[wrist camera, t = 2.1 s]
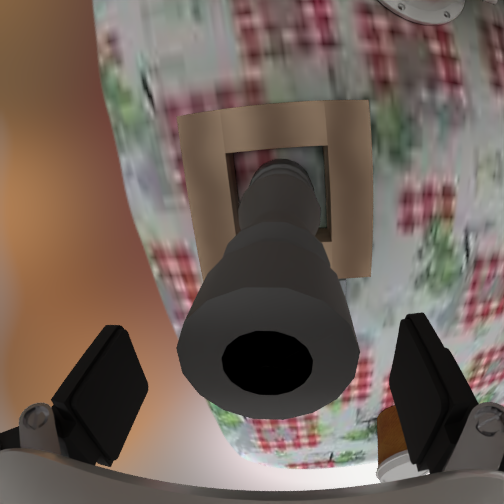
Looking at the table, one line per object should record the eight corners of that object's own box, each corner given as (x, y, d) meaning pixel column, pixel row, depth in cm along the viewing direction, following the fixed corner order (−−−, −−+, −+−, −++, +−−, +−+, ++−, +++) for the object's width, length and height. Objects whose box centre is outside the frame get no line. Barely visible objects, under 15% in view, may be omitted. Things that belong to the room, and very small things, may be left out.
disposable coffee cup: (371, 402, 43) (383, 465, 32) (425, 393, 42) (446, 451, 31) (364, 434, 47) (372, 490, 36) (414, 426, 46) (428, 479, 35)
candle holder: (305, 222, 33) (332, 431, 11) (246, 212, 34) (170, 405, 11) (317, 165, 31) (398, 297, 8) (255, 153, 31) (170, 257, 8)
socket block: (358, 102, 28) (368, 100, 24) (362, 259, 34) (370, 276, 31) (189, 116, 30) (176, 116, 26) (212, 268, 37) (204, 285, 33)
